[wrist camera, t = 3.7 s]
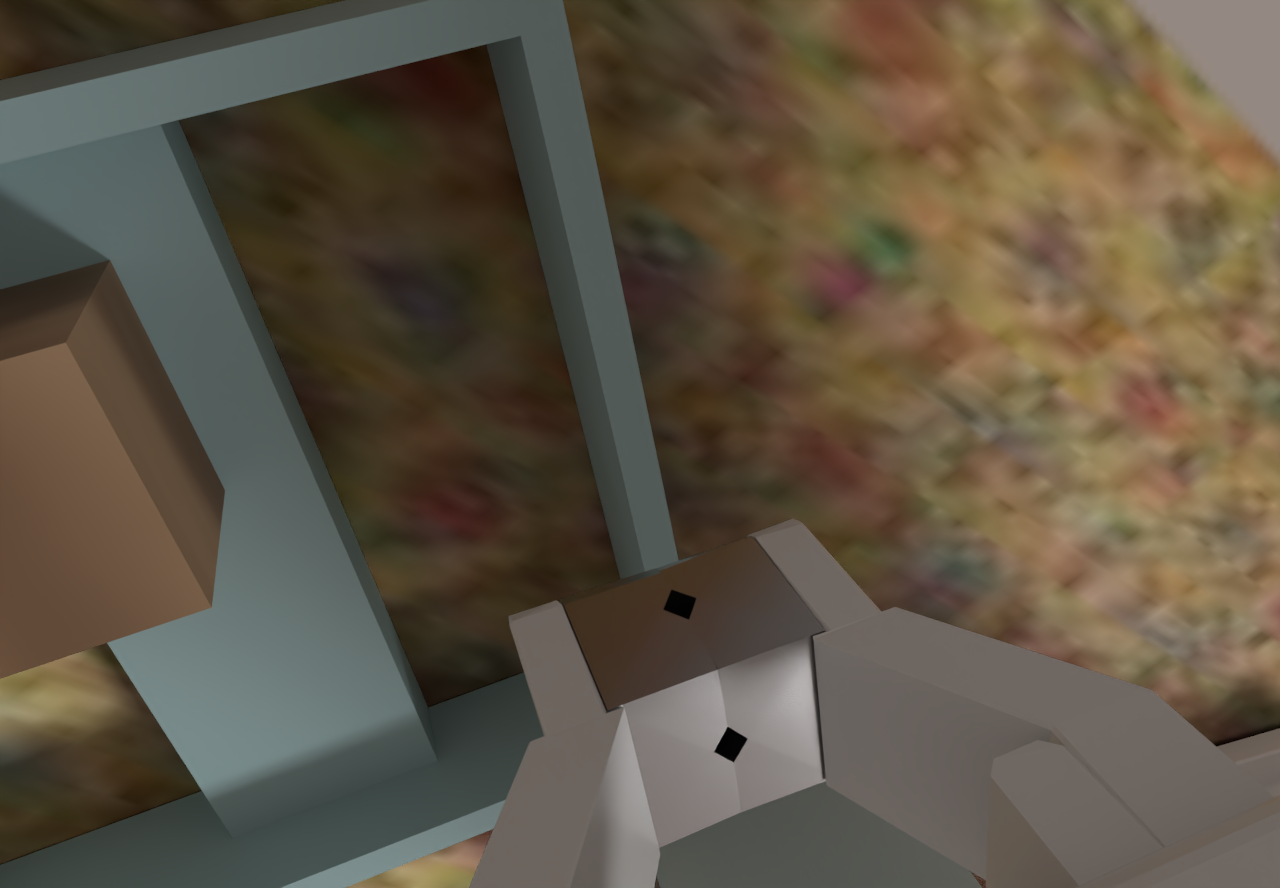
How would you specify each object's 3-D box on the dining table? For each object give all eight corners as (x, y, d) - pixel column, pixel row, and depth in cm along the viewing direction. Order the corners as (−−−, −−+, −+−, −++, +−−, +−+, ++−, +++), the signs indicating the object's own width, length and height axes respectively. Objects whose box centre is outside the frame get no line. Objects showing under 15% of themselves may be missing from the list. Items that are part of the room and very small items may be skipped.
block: (110, 260, 17) (65, 342, 14) (225, 490, 19) (211, 607, 16) (-199, 342, 16) (-329, 453, 13) (-36, 572, 19) (-107, 714, 15)
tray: (508, -38, 18) (557, -30, 15) (664, 642, 28) (715, 740, 24) (-1207, 359, 14) (-1680, 496, 11) (-332, 1013, 23) (-437, 1196, 20)
